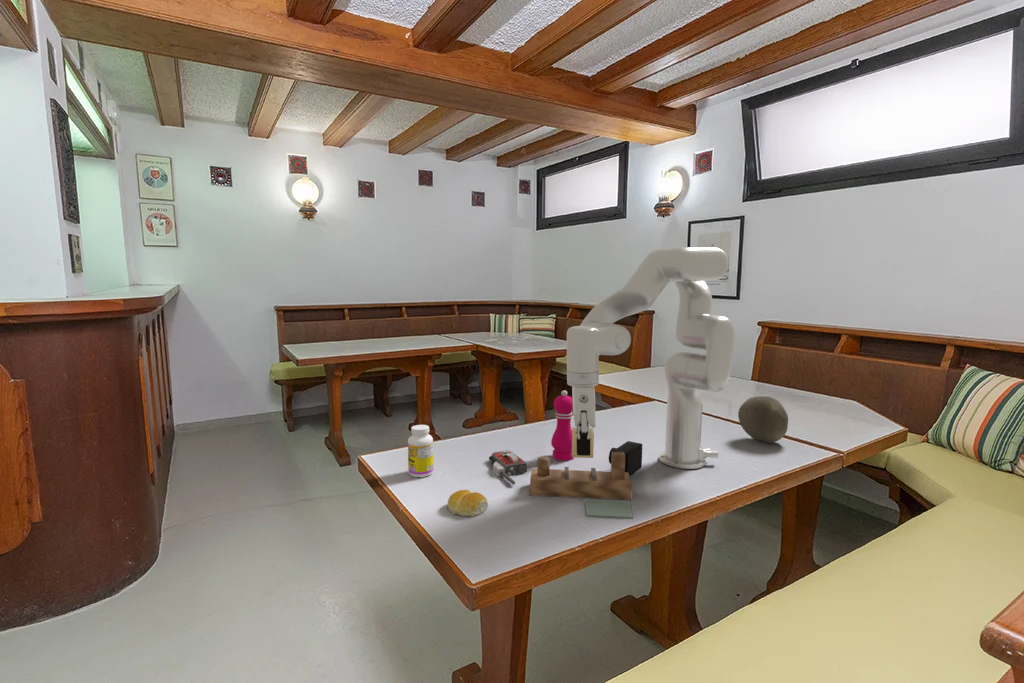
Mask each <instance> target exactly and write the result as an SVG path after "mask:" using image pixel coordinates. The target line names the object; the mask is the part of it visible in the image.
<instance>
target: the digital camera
mask: <svg viewBox="0 0 1024 683" xmlns="http://www.w3.org/2000/svg"><path fill="white" fill-rule="evenodd" d="M611 452H624V454H625V472H628V473H629V476H630V477H632V476H633V475H634V474H636V473H637V472H638V471H640V470H641V469H642V468H643V467H642V466H643V463H642V462H643V443H639V442H635V441H629V440H628V441H626V442H625V443H623V444H621V445H620V446H618V447H617V448H616V447H612V448H610V451H609V453H608V463H609V464H610V465H611ZM641 467H642V468H641ZM636 471H637V472H636ZM631 475H632V476H631Z"/></svg>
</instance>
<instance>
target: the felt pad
mask: <svg viewBox="0 0 1024 683" xmlns="http://www.w3.org/2000/svg"><path fill="white" fill-rule="evenodd" d="M584 503H585V504H584V506H585V515H586V517H588V518H589V517H590V518H611V519H612V518H613V519H627V518H628V519H629V518H631V519H630V520H633V519H634V515H633V512H632V509H631V505H630V502H629V500H619V499H598V498H584Z"/></svg>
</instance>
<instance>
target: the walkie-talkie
mask: <svg viewBox="0 0 1024 683" xmlns="http://www.w3.org/2000/svg"><path fill="white" fill-rule="evenodd" d="M488 460H489V461H491V464H492V472H493V473H495V474H496V475H498V476H497V477H504V479H505V480H506V481H508V482H509V483H511V484H512V485H515V484H516V481H515V480H514V479H513V478H512V477H511V476H512V475H511V474H513V475H517V473H519V474H524V473H525V474H526V473H527V472H528V463H527V462H526V461H525V460H523V459H522V458H521V457H520V456H518V455H517V454H515V453H514V452H513V451H511V450H502V451H495V452H492V453H491V455H490V456H488Z"/></svg>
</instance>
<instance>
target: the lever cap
mask: <svg viewBox="0 0 1024 683" xmlns="http://www.w3.org/2000/svg"><path fill="white" fill-rule="evenodd" d="M571 429H572V457H574V458H578V459H579V458H581V459H582V458H583V459H594V447H595V446H594V444H595V442H594V441H595V439H594V437H595V433H594V428H593V427H590V428H589V437H590V455H589V456H581V455H577V439H578V428H577V427H571ZM580 431H581V429H580Z"/></svg>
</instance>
